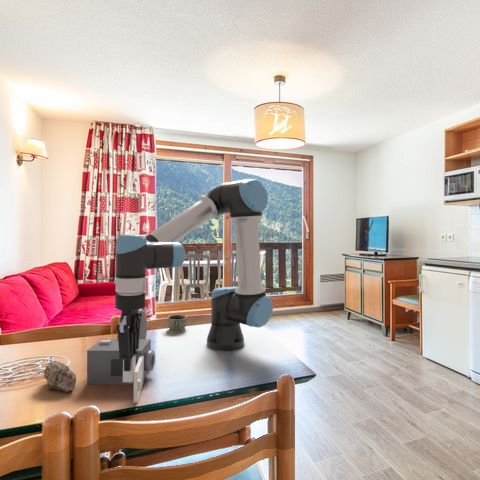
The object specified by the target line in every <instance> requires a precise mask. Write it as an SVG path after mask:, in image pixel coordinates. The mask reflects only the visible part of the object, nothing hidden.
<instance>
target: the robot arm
mask: <svg viewBox="0 0 480 480" xmlns="http://www.w3.org/2000/svg"><path fill="white" fill-rule="evenodd" d="M267 192H268V191H267V190H266V187H265V185H263V183H262V182H261V181H259V179H255V178H254V179H253V178H250V179H249V178H245V179H241V180H240V179H239V180H234V181H230V182H229V181H228V182H223V183H220V184H219V185H217V186H215V187H214V188H212V189H211V190H209V191H207V192H206V193H204V194H202V195H201V196H200V197H198V199H197V201H196V203H194V204H193V205H191V206H189V207H188V208H186V209H185V210H183V211H182V212H180V213H179V214H177V215H176V216H174V217H172V218H171V219H170V220H168V221H167V222H165V223H163V224H162V225H161V226H159V227H157V228H156V229H155V230H153V231H151V232H150V233H148V234H146V235H144V234H120V235H118V236H117V238H116V244H115V251H114V252H115V280H113V283H114V284H115V292H116V294H115V295H114V297H115V298H114V307H115V309H116V310H119V311H121V315H120V317H119V322H120V323H121V325H119V324H117V325H116V327H115V328H116V334H117V333H118V343H119V358H120V359H123V382H134V370H135V368H136V355H135V354H139V351H137V349H138V348H139V336H140V324H141V317H142V313H139V309H143V308H145V306H146V293H145V292H146V289H147V288H146V284H147V283H146V280H147V277H146V276H147V274H146V273H147V270H151V269H155V270H156V269H169V268H170V269H173V268H177V267H180V266H182V265H183V264H184V262H185V260H186V250H185V248H184V246H183V244H182V243H180V242H179V241H181V240H182V239H184V237H186V236H187V235H189V234H190V233H192V232H193V231H194V230H196V229H198V227H200V226H201V225H203V224H204V223H205V222H207V221H209V220H213V219H214V220H215V218H217V217H219V216H221V215H224V214H229V215H230V216H229V217H230V219H231V220H232V221H233V223H234V229H235V230H234V232H235V233H234V234H235V251H236V269H237V282H238V283H237V284H238V286H224V287H216V288H214V289H213V290H212V291H211V298H210V299H211V302H210V305H211V308H210V309H211V310H210V311H211V312H210V313H211V316H210V317H211V318H210V319H211V323H210V324H211V325H210V328H209V331H208V334H207V336H206V338H207V339H206V345H207V347H208V348H210V349H213V350H219V351H233V350H237V349H240V348H242V347H243V346H244V345H245V337H244V334H243V331H242V328H241V324H242V325H245V326H248V327H251V328H262V327H264V326H265V325H266V324H267V323H268V322H269V321H270V319H271V317H272V315H273V311H274V304H273V303H274V302H273V300H272V299H271V298H270V297H269V296H267V291H266V287H264V286H263V285H262V276H261V275H262V274H261V273H262V271H261V254H260V253H261V252H260V235H259V234H260V233H259V232H260V231H259V220H260V219H261V218H262V217H263V214H262V213H263V211H264V210H265V209H266V208H267V205H268V202H269V198H268V197H269V195H268V193H267ZM143 292H144V293H143Z"/></svg>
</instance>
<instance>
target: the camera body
mask: <svg viewBox="0 0 480 480" xmlns="http://www.w3.org/2000/svg"><path fill="white" fill-rule="evenodd" d="M151 340H152V339H151V338H149V339H148V338H146V339H139V348H138V349H137V351H139V354H135V355H136V365H137V362H138V360H139V357H140V356H144V380H145V379H146V377H147V376H148V374H149V372H152V371H153V370H154V368H155V364H156V351H155V350H154V349H153V350H152V349H151V348H152V345H151V343H152V341H151ZM86 384H87V385H134V382H123V359H120V358H119V343H118V339H117V338H101V339H100V340H99V341H97V342H95V344H93V345H92V346H91V347H90V348H88V349H87V350H86Z"/></svg>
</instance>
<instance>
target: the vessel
mask: <svg viewBox="0 0 480 480" xmlns="http://www.w3.org/2000/svg"><path fill="white" fill-rule="evenodd" d="M187 324H188V323H187V315H184V314H171V315H168V316H167V324H166V325H167V327H168V328H169V329H168V332H170V333H175V334H177V333H182V332H183V333H184V332H185V331H186V327H187Z"/></svg>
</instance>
